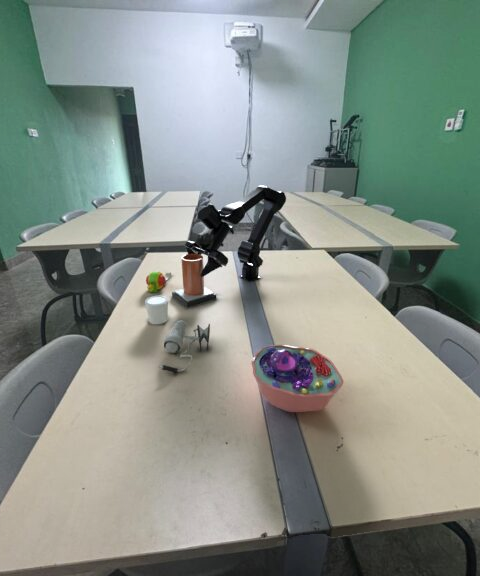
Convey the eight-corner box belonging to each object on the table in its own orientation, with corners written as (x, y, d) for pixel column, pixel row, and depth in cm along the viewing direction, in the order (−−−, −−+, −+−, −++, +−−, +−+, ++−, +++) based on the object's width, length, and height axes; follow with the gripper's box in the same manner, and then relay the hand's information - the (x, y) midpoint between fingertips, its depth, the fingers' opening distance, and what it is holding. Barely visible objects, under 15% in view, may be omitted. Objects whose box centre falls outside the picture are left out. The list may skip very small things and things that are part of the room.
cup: (203, 286, 118) (201, 253, 113) (205, 294, 112) (203, 260, 107) (183, 287, 117) (181, 254, 111) (184, 296, 110) (181, 261, 105)
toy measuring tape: (141, 293, 117) (139, 277, 114) (162, 274, 134) (160, 259, 132) (158, 295, 116) (156, 278, 113) (176, 275, 134) (175, 261, 131)
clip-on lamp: (198, 384, 78) (213, 333, 92) (198, 368, 74) (214, 317, 88) (151, 377, 78) (174, 326, 92) (149, 361, 74) (172, 310, 89)
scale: (200, 288, 122) (200, 283, 121) (216, 299, 115) (216, 292, 114) (172, 296, 115) (171, 290, 114) (187, 308, 108) (186, 301, 107)
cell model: (320, 445, 60) (328, 400, 55) (234, 401, 69) (235, 359, 65) (347, 393, 73) (355, 352, 68) (272, 362, 83) (275, 324, 78)
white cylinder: (172, 315, 103) (171, 296, 100) (165, 326, 97) (163, 306, 94) (152, 313, 103) (150, 294, 101) (143, 324, 97) (140, 304, 94)
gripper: (187, 218, 113) (162, 254, 111) (221, 228, 102) (195, 268, 99) (205, 236, 122) (183, 269, 119) (238, 247, 110) (215, 284, 108)
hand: (193, 272), depth 111 cm, fingers open, 9 cm apart
